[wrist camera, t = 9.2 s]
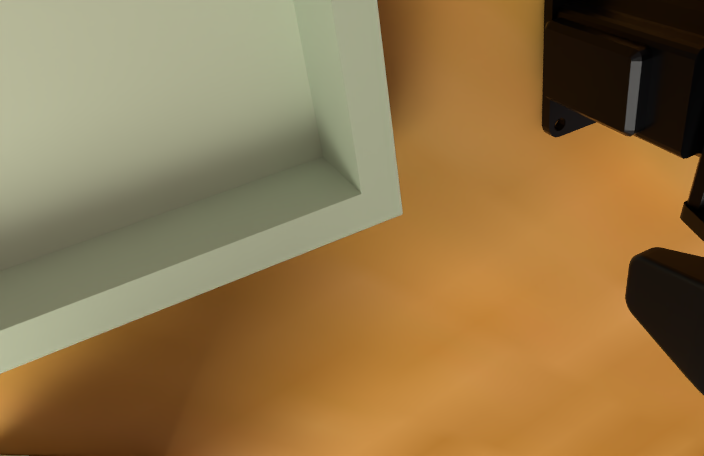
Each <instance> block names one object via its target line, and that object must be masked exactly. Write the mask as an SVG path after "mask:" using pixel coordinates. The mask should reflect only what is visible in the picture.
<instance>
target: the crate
mask: <svg viewBox="0 0 704 456" xmlns="http://www.w3.org/2000/svg"><path fill="white" fill-rule="evenodd" d="M402 214H403V212H402V203H401V195H400V187H399V178H398V170H397V162H396V153H395V145H394V137H393V129H392V120H391V112H390V104H389V95H388V87H387V79H386V70H385V62H384V54H383V45H382V37H381V29H380V21H379V12H378V4H377V0H0V374H1V373H3V372H6V371H8V370H11V369H13V368H16V367H18V366H21V365H23V364H26V363H28V362H31V361H33V360H36V359H38V358H41V357H43V356H46V355H49V354H51V353H54V352H56V351H59V350H61V349H64V348H66V347H69V346H71V345H74V344H76V343H79V342H81V341H84V340H86V339H89V338H91V337H94V336H96V335H99V334H102V333H104V332H107V331H109V330H112V329H114V328H117V327H119V326H122V325H124V324H127V323H129V322H132V321H134V320H137V319H139V318H142V317H144V316H147V315H149V314H152V313H155V312H157V311H160V310H162V309H165V308H167V307H170V306H172V305H175V304H177V303H180V302H182V301H185V300H187V299H190V298H192V297H195V296H197V295H200V294H202V293H205V292H208V291H210V290H213V289H215V288H218V287H220V286H223V285H225V284H228V283H230V282H233V281H235V280H238V279H240V278H243V277H245V276H248V275H250V274H253V273H255V272H258V271H261V270H263V269H266V268H268V267H271V266H273V265H276V264H278V263H281V262H283V261H286V260H288V259H291V258H293V257H296V256H298V255H301V254H303V253H306V252H308V251H311V250H314V249H316V248H319V247H321V246H324V245H326V244H329V243H331V242H334V241H336V240H339V239H341V238H344V237H346V236H349V235H351V234H354V233H356V232H359V231H361V230H364V229H367V228H369V227H372V226H374V225H377V224H379V223H382V222H384V221H387V220H389V219H392V218H394V217H397V216H399V215H402Z"/></svg>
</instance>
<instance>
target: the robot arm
mask: <svg viewBox="0 0 704 456" xmlns="http://www.w3.org/2000/svg"><path fill="white" fill-rule="evenodd" d="M557 120H558V122H557V124H556V125H555V123H556V121H557ZM596 122H598V123H600V124H602V125H604V126H606V127H608V128H611V129H613V130H615V131H617V132H619V133H621V134H623V135H625V136H632V135H634V136H636V137H638V138H640V139H643V140H645V141H647V142H649V143H651V144H653V145H655V146H658V147H660V148H662V149H664V150H666V151H668V152H670V153H673V154H675V155H677V156H679V157H681V158H683V159H684V158H689V157H691V156H693V155H696V156H698V157H700V159H699V162H698V166H697V169H696V173H695V177H694V180H693V184H692V187H691V191H690V195H689V198H688V201H685V202H684V205H683V209H682V212H681V216H680V218H681V220H682V221H683V222H684V223H685V224H686V225H687V226H688V227H689V228H690V229H691V230H692V231H693V232H694V233H695V234H697V235H698V236H699V237H700V238H701V239H702V240H703V241H704V0H545V7H544V55H543V103H542V128H543V130H544V132H546V133H547V134H549V135H551V136H553V137H560V136H562V135H565V134H567V133H570V132H573V131H575V130H578V129H580V128H583V127H585V126H588V125H591V124H593V123H596ZM625 299H626V304H627V306H628V308H629V310H630V312H631V313H632V314H633V316H634V317H635V318H636V319H637V320H638V321H639V323H640V324H641V325H642V326H643V327H644V328H645V330H646V331H647V332H648V333H649V334H650V335H651V337H652V338H653V339H654V340H655V341H656V342H657V344H658V345H659V346H660V347H661V348H662V349H663V351H664V352H665V353H666V354H667V355H668V356H669V357H670V359H671V360H672V361H673V362H674V363H675V364H676V366H677V367H678V368H679V369H680V370H681V371H682V373H683V374H684V375H685V376H686V377H687V378H688V379H689V381H690V382H691V383H692V384H693V385H694V386H695V387H696V388H697V389H698V390H699V391H700V392H701V393H702V394H703V395H704V257H700V256H696V255H691V254H687V253H683V252H678V251H674V250H669V249H665V248H660V247H655V248H651V249H648V250H646V251H644V252H642V253H640V254H637V255H635V256H634V257H633V258H632V259H631V261H630V264H629V271H628V278H627V286H626V294H625Z"/></svg>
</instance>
